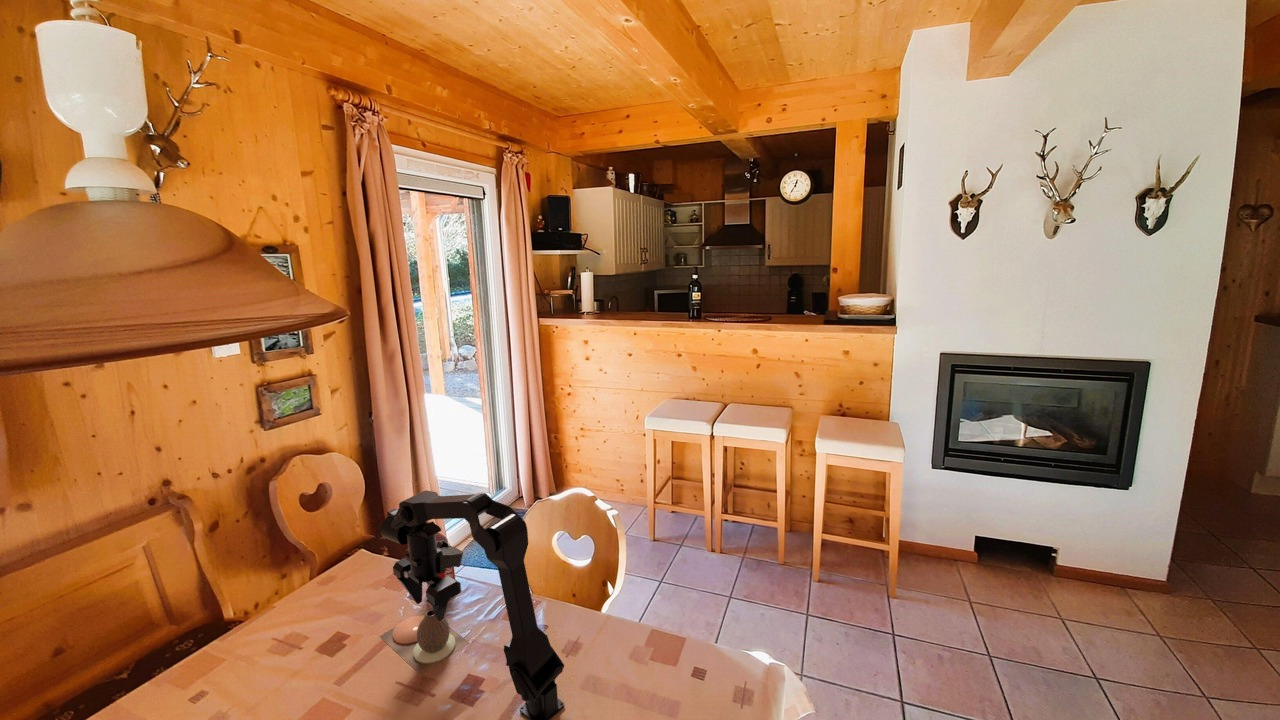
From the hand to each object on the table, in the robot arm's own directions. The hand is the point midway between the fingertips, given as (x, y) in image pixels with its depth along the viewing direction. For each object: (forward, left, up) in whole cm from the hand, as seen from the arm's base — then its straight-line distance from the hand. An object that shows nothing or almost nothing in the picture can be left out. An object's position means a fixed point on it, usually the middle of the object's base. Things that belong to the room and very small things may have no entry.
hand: (429, 611), depth 117 cm
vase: (0, 0, -9) cm, 9 cm away
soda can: (+19, -13, -11) cm, 25 cm away
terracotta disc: (+9, 0, -10) cm, 14 cm away
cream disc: (0, 0, -10) cm, 10 cm away
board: (+5, 0, -11) cm, 12 cm away
